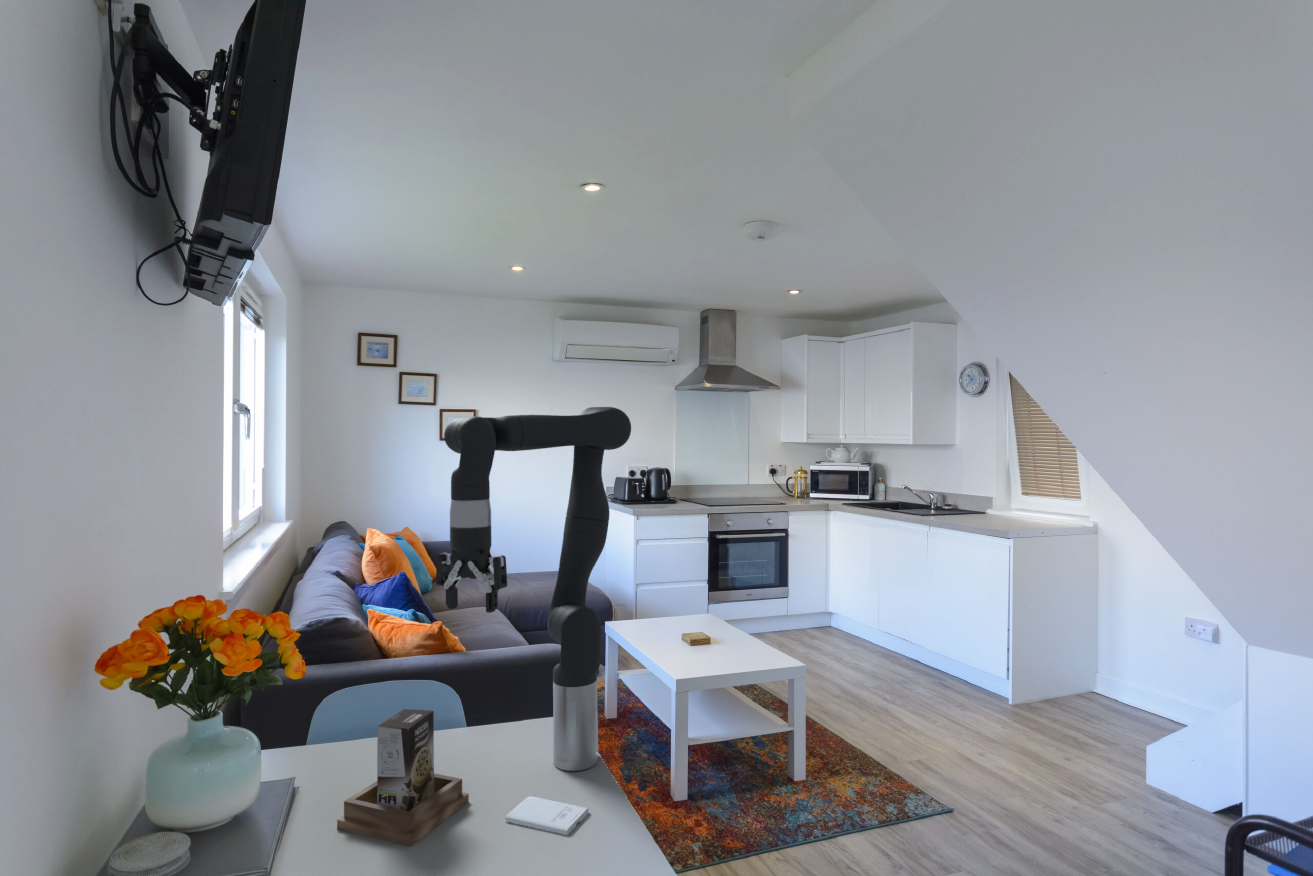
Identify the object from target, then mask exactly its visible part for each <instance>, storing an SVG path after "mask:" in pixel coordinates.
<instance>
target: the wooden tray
mask: <svg viewBox="0 0 1313 876" xmlns="http://www.w3.org/2000/svg"><path fill="white" fill-rule="evenodd" d="M469 801H470V800H469V793H467V792H463V778H459V777H454V776H450V775H446V774H445V775H444V774H439V773H435V772H434V794H433V795H432V796H431V797H429V798H428V799H426V800H425V801H423V802H422V803H421V804H419V805H418V806H416V807H415V808H414V809H412V810H411V811H409V812H408V811H404V810H400V809H395V808H391V807H386V806H382V805H377V780H376V781H374V782H373V783H371V784H370V785H368V786H366V787H364V789H362V790H360V791H358V792H356V793H355V794H353V795H352V796H350V797H349V798H347V799H345V800H343V815H342V816H341V817H339V818H337V819H336V826H337V827H336V828H337V829H338V830H339V829H340V830H343V831H347V832H351V833H356V834H359V835H363V836H366V837H367V836H368V837H371V838H376V839H379V840H382V841H383V840H384V841H387V842H392V843H396V844H401V845H404V846H408V847H412V846H413V845H414V844H416V843H418V841H420V840H422V838H424V837H425V836H427V834H429V833H431V832H432V831H433V830H434V829H435V828H436V827H438V826H440V825H441V824H442V823H443V822H445V821H446V820H447V819H448V818H449V817H451V816H452V815H454V814H455V813H456V812H458V810H460V809H461V808H462V807H464V806H465V805H466V804H467V803H468V802H469ZM455 811H456V812H455ZM454 812H455V813H454ZM450 815H451V816H450ZM441 822H442V823H441ZM432 829H433V830H432Z"/></svg>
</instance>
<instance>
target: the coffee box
mask: <svg viewBox="0 0 1313 876" xmlns="http://www.w3.org/2000/svg"><path fill="white" fill-rule="evenodd" d="M434 717H435V715H434V710H429V709H427V710H426V709H408V708H404V709H402V710H400V711H399V712H397V713H396V714H394V715H393V716H392V717H389V718H388V719H386V720H385V721H384V722H382V723H380V724H379V725H377V735H376V736H377V737H376V739H377V742H376V743H377V745H376V746H377V756H376V757H377V763H376V765H377V768H376V769H377V771H376V772H377V773H376V774H377V775H376V776H377V778H376V779H377V780H376V781H377V805H382V806H386V807H391V808H395V809H400V810H404V811H408V812H409V811H411V810H412V809H414V808H415V807H416V806H418V805H419V804H421V803H422V802H423V801H425V800H426V799H428V798H429V797H431V796H432V795H433V794H434V773H435V758H434V757H435V749H434V748H435V746H434V745H435V744H434V743H435V742H434V739H435V737H434V736H435V735H434V733H435V731H434V729H435V727H434V726H435V725H434Z"/></svg>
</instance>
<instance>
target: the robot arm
mask: <svg viewBox="0 0 1313 876" xmlns="http://www.w3.org/2000/svg"><path fill="white" fill-rule="evenodd" d="M631 434H632V423H631V420H630V418H629V416H628V415H627V413H626V412H624V411H623V410H622V409H619V408H618V407H617V408H616V407H613V406H592V407H587V408H585V409H584V410H582V412H581V413H580V414H577V415H576V414H575V415H574V414H573V415H558V414H557V415H554V414H553V415H552V414H551V415H550V414H516V415H503V416H498V417H497V416H496V417H487V416H486V417H484V416H478V415H477V416H463V417H457V418H455V419H453V420H451V422H449V423H448V424H447V426H446V427H445V429H444V434H443V438H444V442H445V444H446V446H447V447H448V448H449V449H450V450H451V451H453V452H454V453H457V454H459V455H460V456H459V464H458V467H457V468H455V469H454V470H453V471H452V473H451V476H450V499H451V500H450V508H449V548H450V549H451V553H450V552H448V551H446V552H440V553H438V554H437V555H436V569H435V570H436V571H435V584H436V585H437V586H441V587H443V588H444V589H445V605H446V607H447V609H448V610H454V609H456V608H458V606H459V604H458V603H459V601H458V600H459V598H458V597H459V596H458V593H459V592H458V590H459V588H458V587H457V586H458V584H459V582H460V581H461V580H462V579H466V578H468V579H472V580H476V579H477V580H478V583H479V584H482V586H483V587H484V589H485V591H486V592H485V612H486V613H488V614H490V613H494V612H495V611H496V609H498V605H499V603H498V602H499V601H498V599H499V598H498V597H499V595H498V593H499V591H500V590H502V589H504V588H507V587H508V574H507V570H508V569H507V558H506V556H505V555H504V554H501V555H498V556H492V554H491V548H492V508H491V500H490V498H491V497H490V495H491V492H490V491H491V490H490V475H491V472H492V467H493V462H494V458H495V451H501V452H519V451H520V452H522V451H532V450H543V449H552V448H560V447H571V446H573V461H572V462H573V463H572V475H571V480H570V488H569V495H568V496H569V497H568V503H567V509H566V513H565V514H566V515H565V519H564V526H563V527H564V528H563V534H562V535H563V536H562V544H561V551H560V555H559V556H560V557H559V563H558V573H557V577H556V582H555V585H554V586H555V587H554V591H553V594H552V598H551V603H550V606H549V610H548V615H547V620H546V622H547V630H548V633H549V636H550V637H551V638H552V639H553V641H555V642H556V643H558V644H560V658H559V663H557V664H556V665H555V666H554V667H553V669H552V699H553V700H552V701H553V702H552V703H553V704H552V706H553V707H552V708H553V713H552V715H553V716H552V718H553V747H552V748H553V765H554V766H555V767H556V768H557V769H559V770H563V771H568V772H576V771H578V772H579V771H585V770H587V769H591V768H592V767H593V766H595V765H596V764H597V763H598V755H599V714H598V713H599V712H598V672H599V668H600V665H601V660H602V659H601V658H602V624H601V618H600V616H599V614H598V613H597V612H596V610H594V609H593V608H592V607H589V606H587V605H586V601H587V600H586V599H587V592H588V591H587V590H588V585H589V580H590V576H591V573H592V571H593V570H594V567H595V565H596V564H597V562H598V560H599V558H600V556H601V555H602V552H603V550H604V548H605V544H606V540H607V536H608V530H609V523H610V506H609V501H608V496H607V493H606V490H605V485H604V481H603V474H602V473H603V472H602V471H603V469H602V468H603V461H604V455H605V451H611V450H616V449H619V448H621V447H622V446H624V445H625V444H626V443H627V442H628V441H629V439H630V436H631ZM451 565H452V567H453V568H452V569H451V570H450V567H451ZM490 565H491V568H492V569H493V571H492V569H491V568H490ZM596 752H597V753H598V754H596Z"/></svg>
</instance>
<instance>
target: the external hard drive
mask: <svg viewBox="0 0 1313 876" xmlns="http://www.w3.org/2000/svg"><path fill="white" fill-rule="evenodd" d="M588 814H589V807H585V806H579V805H574V804H570V803H564V802H559V801H555V800H550V799H546V798H541V797H536V796H530V795H528V796H527V797H526V798H525V799H524V800H522V801H521V802H520V803H519V804H518V805H516V806H515V807H514V808H513V809H512V810H511V811H510V812H508V813H507V815H505V819H504V820H505V821H508V822H512V823H517V824H520V825H519V826H522V825H525V826H524V827H526V826H528V827H527V828H531V827H533V828H532V829H535V828H536V830H540V829H541V830H540V831H544V830H545V832H549V831H550V832H551V833H554V834H558V833H559V835H563V836H568V835H569V834H570V833H571V832H573V830H574V829H575V828H576V826H577V824H578V823H580V822H581V821H582V820H583V819H584V818H585V817H586V816H587V815H588ZM508 822H507V823H508ZM512 823H511V824H512ZM517 824H516V825H517ZM550 832H549V833H550Z"/></svg>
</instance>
